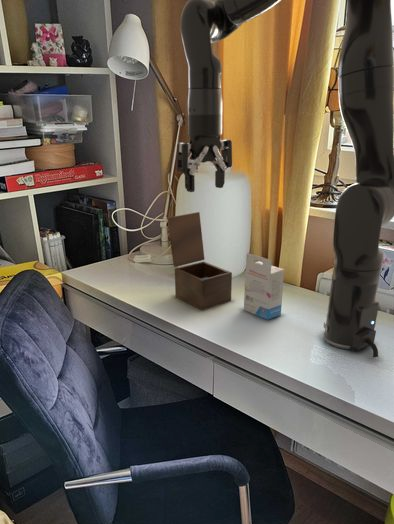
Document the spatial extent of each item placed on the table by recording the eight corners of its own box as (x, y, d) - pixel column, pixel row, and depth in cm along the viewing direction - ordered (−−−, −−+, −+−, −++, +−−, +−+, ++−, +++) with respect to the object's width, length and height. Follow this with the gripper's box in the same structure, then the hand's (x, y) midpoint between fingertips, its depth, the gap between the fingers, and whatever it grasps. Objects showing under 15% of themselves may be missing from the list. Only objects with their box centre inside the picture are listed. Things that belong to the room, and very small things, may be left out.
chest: (231, 301, 124) (231, 272, 120) (202, 310, 119) (201, 280, 115) (203, 288, 132) (203, 261, 129) (175, 296, 127) (174, 268, 123)
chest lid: (199, 212, 124) (197, 212, 124) (168, 217, 119) (167, 217, 119) (204, 259, 128) (202, 259, 129) (175, 267, 123) (173, 266, 124)
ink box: (281, 315, 116) (286, 256, 109) (267, 320, 113) (271, 260, 106) (256, 304, 122) (260, 248, 115) (242, 309, 119) (245, 252, 112)
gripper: (189, 113, 98) (190, 195, 105) (241, 111, 105) (238, 188, 113) (168, 112, 103) (171, 190, 111) (219, 111, 110) (218, 184, 118)
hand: (205, 189), depth 112 cm, fingers open, 8 cm apart
